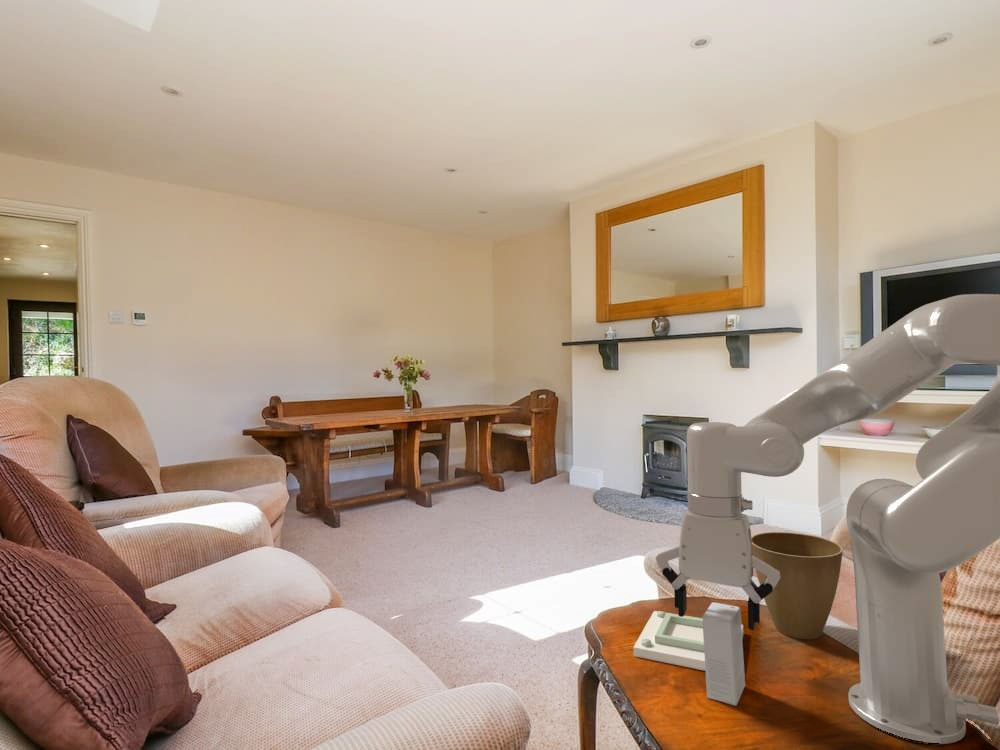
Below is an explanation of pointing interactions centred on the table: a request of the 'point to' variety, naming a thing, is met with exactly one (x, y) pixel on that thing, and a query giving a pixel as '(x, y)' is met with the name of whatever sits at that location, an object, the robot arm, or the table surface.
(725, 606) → the skincare box
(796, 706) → the table surface
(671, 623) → the baseplate
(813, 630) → the plant pot
